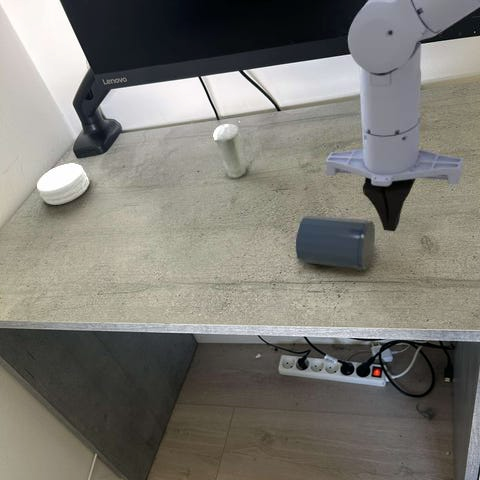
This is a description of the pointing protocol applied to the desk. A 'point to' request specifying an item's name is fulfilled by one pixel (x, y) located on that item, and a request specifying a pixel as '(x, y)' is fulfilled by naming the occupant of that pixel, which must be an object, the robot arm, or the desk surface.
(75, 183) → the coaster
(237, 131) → the milkshake
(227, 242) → the desk surface
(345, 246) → the tumbler
